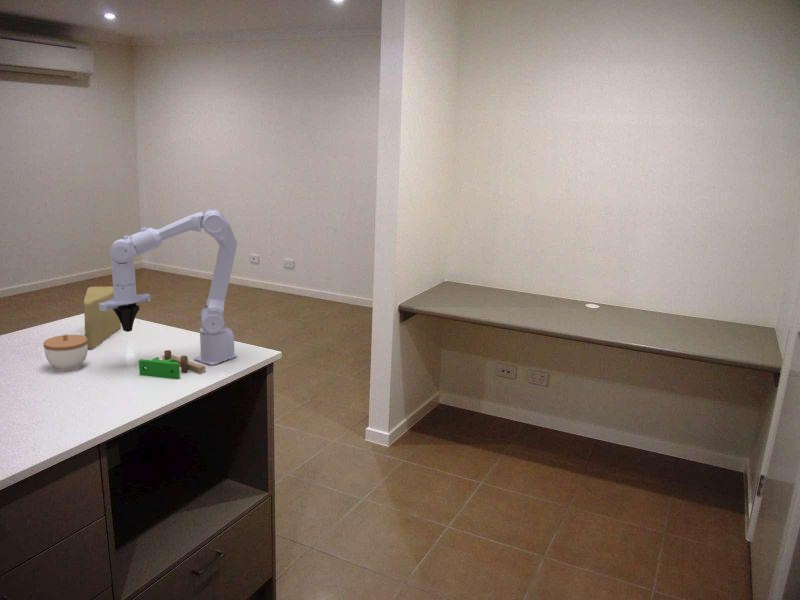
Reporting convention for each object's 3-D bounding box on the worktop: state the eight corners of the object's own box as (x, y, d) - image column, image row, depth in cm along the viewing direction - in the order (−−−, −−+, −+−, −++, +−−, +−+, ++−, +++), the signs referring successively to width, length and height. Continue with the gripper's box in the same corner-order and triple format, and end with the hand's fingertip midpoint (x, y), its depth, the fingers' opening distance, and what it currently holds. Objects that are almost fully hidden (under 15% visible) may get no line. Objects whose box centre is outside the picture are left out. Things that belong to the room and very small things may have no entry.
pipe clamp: (184, 375, 168) (184, 359, 167) (177, 380, 164) (177, 364, 163) (146, 370, 169) (146, 355, 168) (139, 375, 166) (138, 359, 165)
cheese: (107, 349, 184) (103, 302, 180) (72, 350, 182) (67, 302, 178) (122, 328, 205) (119, 285, 201) (91, 328, 202) (87, 285, 199)
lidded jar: (71, 375, 163) (68, 342, 161) (36, 371, 165) (33, 338, 163) (98, 362, 173) (95, 331, 171) (65, 358, 175) (62, 327, 173)
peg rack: (168, 359, 178) (167, 344, 177) (205, 372, 170) (204, 356, 169) (155, 363, 175) (154, 348, 174) (192, 376, 167) (192, 361, 165)
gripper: (138, 277, 174) (141, 322, 178) (90, 285, 162) (94, 333, 166) (154, 280, 171) (156, 326, 174) (106, 289, 159) (110, 339, 162)
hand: (127, 330), depth 170 cm, fingers closed
